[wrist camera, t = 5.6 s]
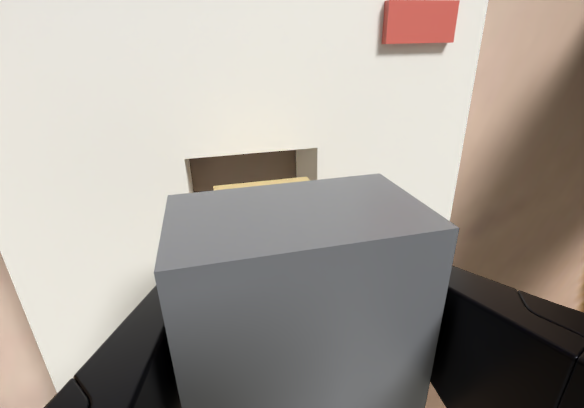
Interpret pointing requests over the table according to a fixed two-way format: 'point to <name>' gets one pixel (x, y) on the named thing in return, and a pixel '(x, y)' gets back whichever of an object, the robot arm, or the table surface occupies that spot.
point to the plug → (303, 293)
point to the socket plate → (202, 126)
